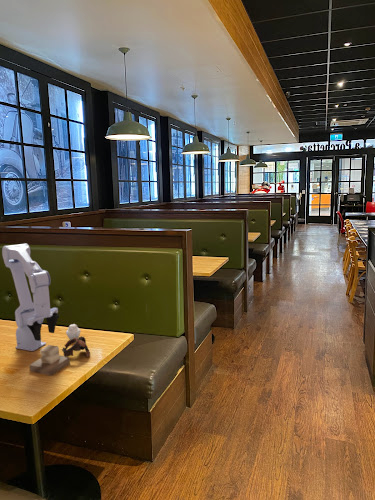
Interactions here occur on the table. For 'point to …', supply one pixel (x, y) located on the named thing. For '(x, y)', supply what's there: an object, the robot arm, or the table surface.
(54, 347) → the maple cube
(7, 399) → the table surface
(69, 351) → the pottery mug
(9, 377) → the table surface
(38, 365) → the grey flat square block
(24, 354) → the table surface
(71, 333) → the white rounded piece
